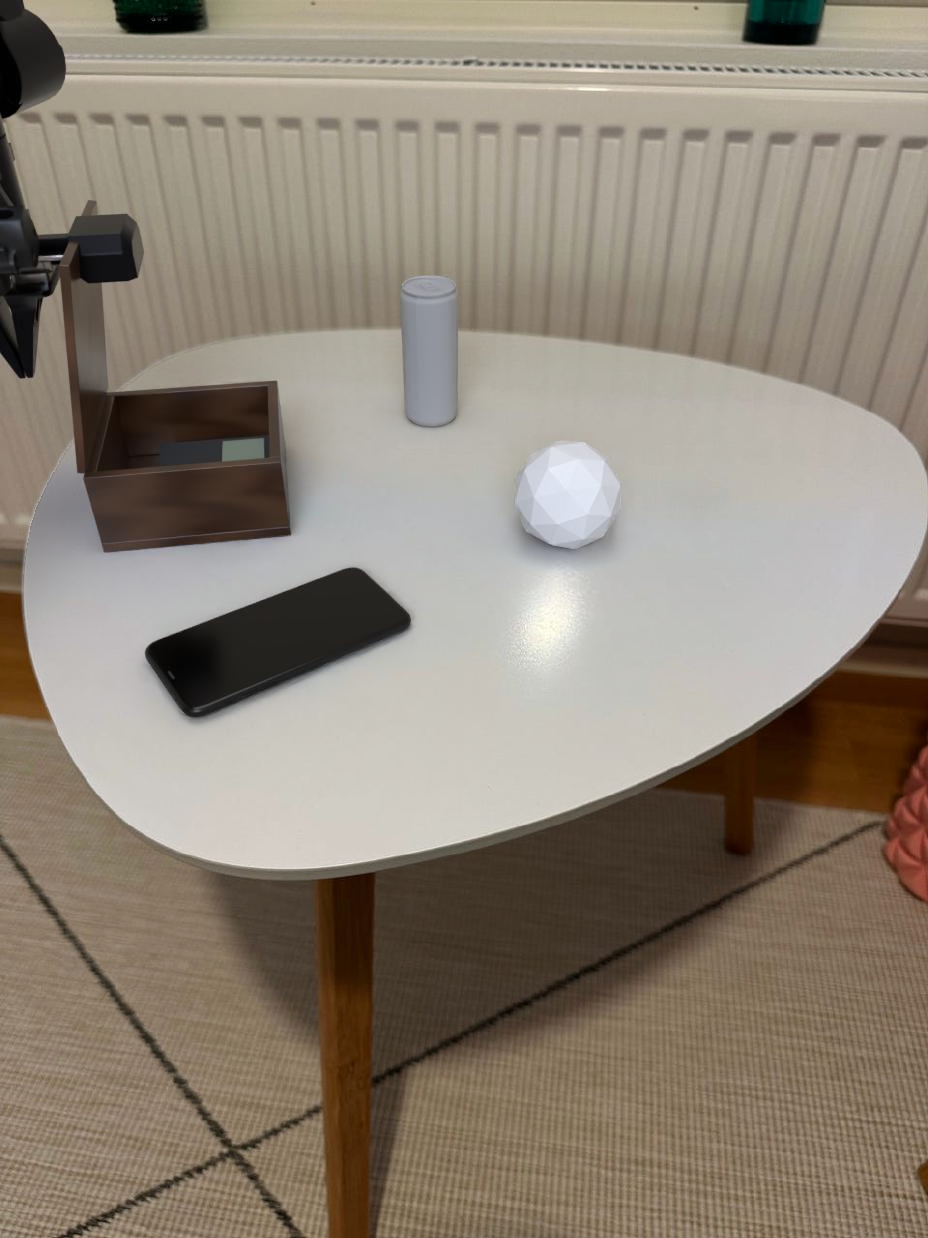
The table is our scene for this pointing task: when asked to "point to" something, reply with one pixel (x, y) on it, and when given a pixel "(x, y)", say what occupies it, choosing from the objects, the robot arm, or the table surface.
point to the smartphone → (274, 640)
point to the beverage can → (430, 349)
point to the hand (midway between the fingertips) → (27, 376)
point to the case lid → (84, 349)
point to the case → (187, 468)
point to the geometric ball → (567, 494)
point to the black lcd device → (213, 450)
